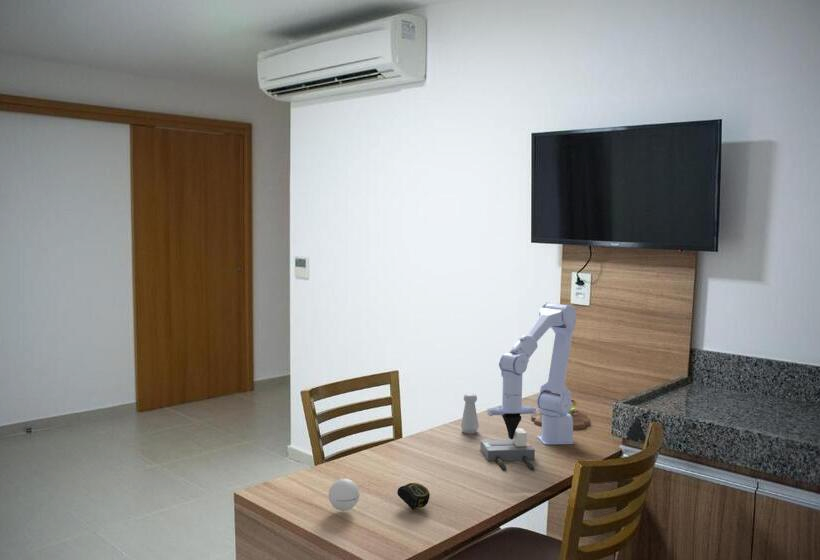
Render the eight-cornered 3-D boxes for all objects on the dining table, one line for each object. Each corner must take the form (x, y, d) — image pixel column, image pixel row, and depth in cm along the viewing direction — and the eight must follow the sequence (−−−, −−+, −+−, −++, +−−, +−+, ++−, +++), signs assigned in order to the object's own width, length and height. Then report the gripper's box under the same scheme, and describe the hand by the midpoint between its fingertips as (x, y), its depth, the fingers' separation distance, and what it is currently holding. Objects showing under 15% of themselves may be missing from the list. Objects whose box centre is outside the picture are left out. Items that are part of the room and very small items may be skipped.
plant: (591, 418, 244) (593, 388, 243) (586, 433, 226) (587, 400, 225) (536, 412, 251) (537, 383, 250) (527, 427, 232) (528, 394, 232)
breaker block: (525, 448, 208) (525, 438, 208) (534, 459, 198) (534, 449, 198) (480, 449, 206) (480, 439, 206) (487, 460, 196) (487, 450, 196)
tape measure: (394, 497, 165) (397, 483, 164) (417, 493, 169) (420, 479, 168) (409, 513, 159) (413, 499, 159) (432, 508, 163) (436, 495, 162)
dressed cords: (526, 459, 198) (526, 455, 198) (535, 470, 189) (535, 465, 189) (495, 459, 197) (495, 455, 197) (502, 470, 188) (502, 466, 188)
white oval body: (327, 516, 157) (328, 485, 156) (328, 503, 164) (328, 474, 163) (371, 515, 158) (371, 484, 157) (369, 502, 165) (370, 473, 164)
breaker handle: (522, 441, 205) (522, 428, 205) (526, 446, 200) (526, 433, 200) (512, 441, 205) (512, 428, 204) (516, 446, 200) (516, 433, 199)
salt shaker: (478, 430, 226) (479, 392, 225) (478, 436, 220) (479, 396, 219) (461, 430, 226) (461, 391, 225) (460, 435, 221) (461, 396, 220)
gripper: (530, 389, 206) (528, 433, 207) (484, 391, 203) (483, 435, 204) (539, 395, 199) (537, 440, 200) (492, 396, 196) (491, 442, 197)
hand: (510, 438), depth 202 cm, fingers closed
